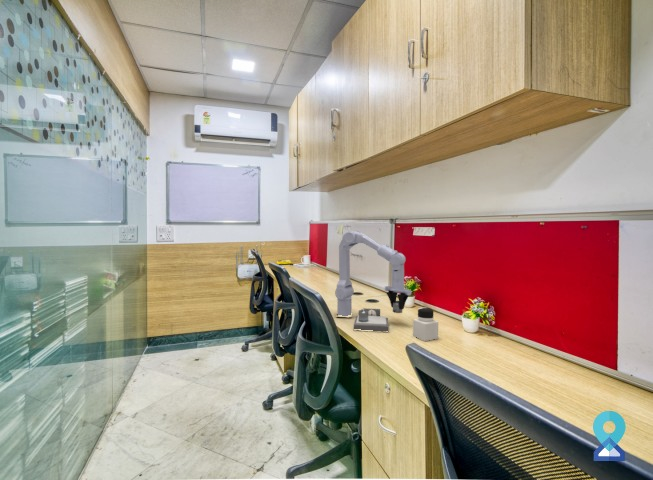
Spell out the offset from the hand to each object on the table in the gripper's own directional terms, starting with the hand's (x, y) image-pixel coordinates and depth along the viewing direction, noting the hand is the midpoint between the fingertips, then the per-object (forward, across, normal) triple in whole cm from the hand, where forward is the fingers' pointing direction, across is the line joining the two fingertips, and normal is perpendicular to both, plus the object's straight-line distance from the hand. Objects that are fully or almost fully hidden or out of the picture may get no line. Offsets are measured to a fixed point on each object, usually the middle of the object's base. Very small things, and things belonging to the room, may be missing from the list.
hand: (397, 308), depth 147 cm
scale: (+8, -4, -13) cm, 15 cm away
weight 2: (+2, 0, 0) cm, 2 cm away
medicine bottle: (+8, +20, -6) cm, 22 cm away
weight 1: (+4, -5, -17) cm, 18 cm away
